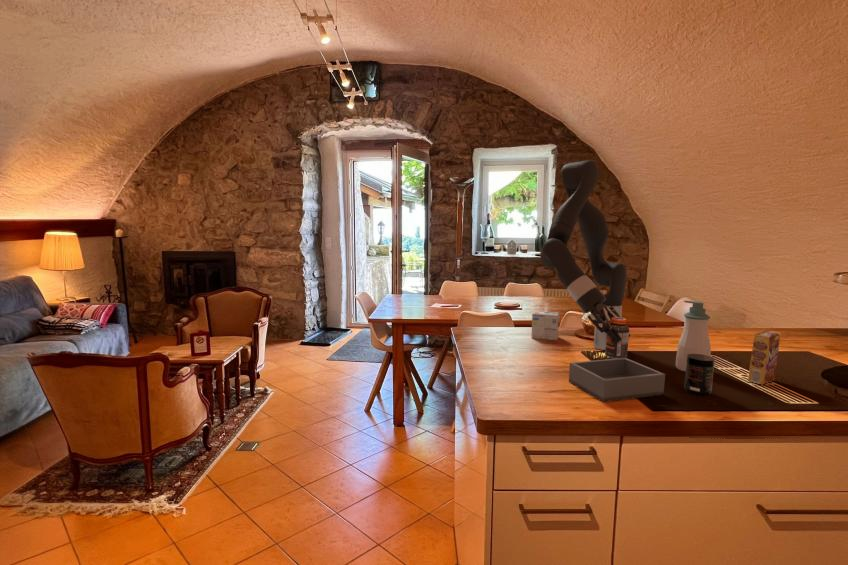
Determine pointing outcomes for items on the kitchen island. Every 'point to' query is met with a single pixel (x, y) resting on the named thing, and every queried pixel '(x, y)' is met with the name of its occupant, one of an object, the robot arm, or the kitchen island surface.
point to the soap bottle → (693, 335)
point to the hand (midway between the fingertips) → (623, 339)
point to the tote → (616, 379)
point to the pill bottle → (621, 347)
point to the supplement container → (699, 374)
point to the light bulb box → (545, 325)
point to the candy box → (764, 357)
